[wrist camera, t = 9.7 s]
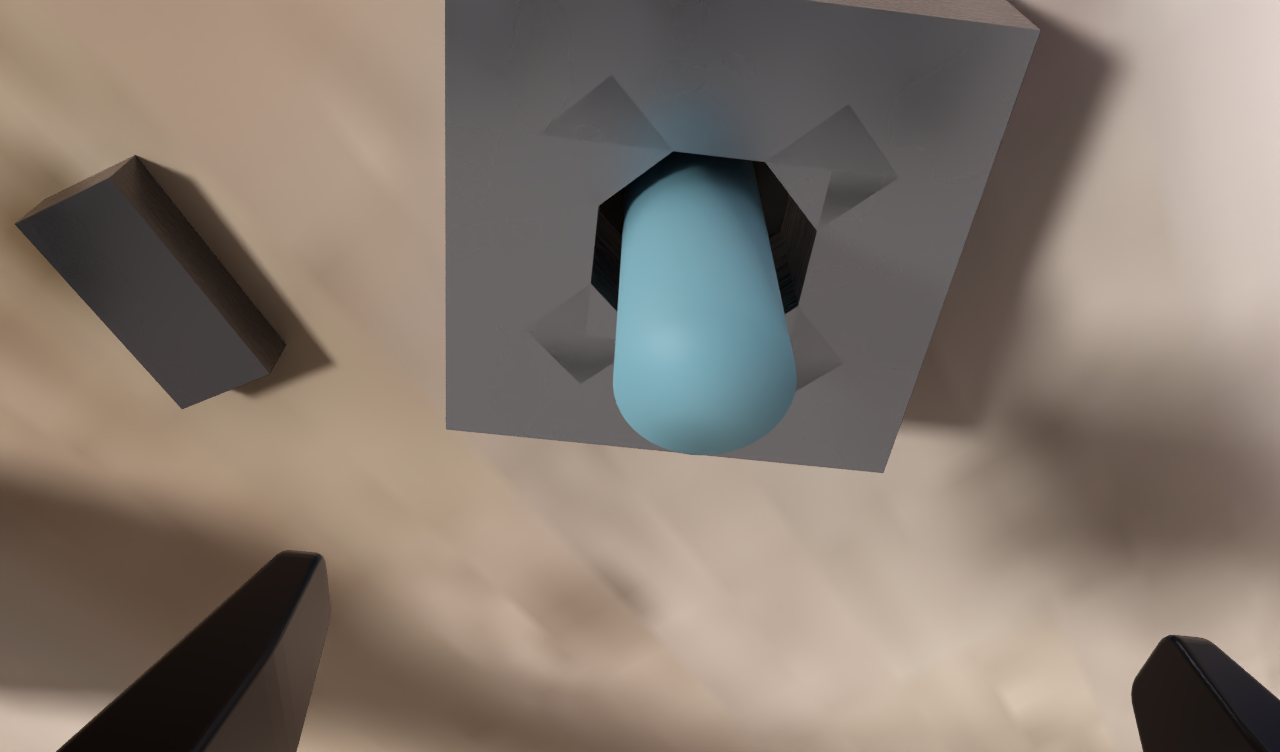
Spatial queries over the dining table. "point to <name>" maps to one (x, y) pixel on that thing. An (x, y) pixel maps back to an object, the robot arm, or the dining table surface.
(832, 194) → the socket block
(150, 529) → the dining table surface
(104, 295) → the charcoal rectangular brick
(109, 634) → the dining table surface
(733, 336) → the round bit
